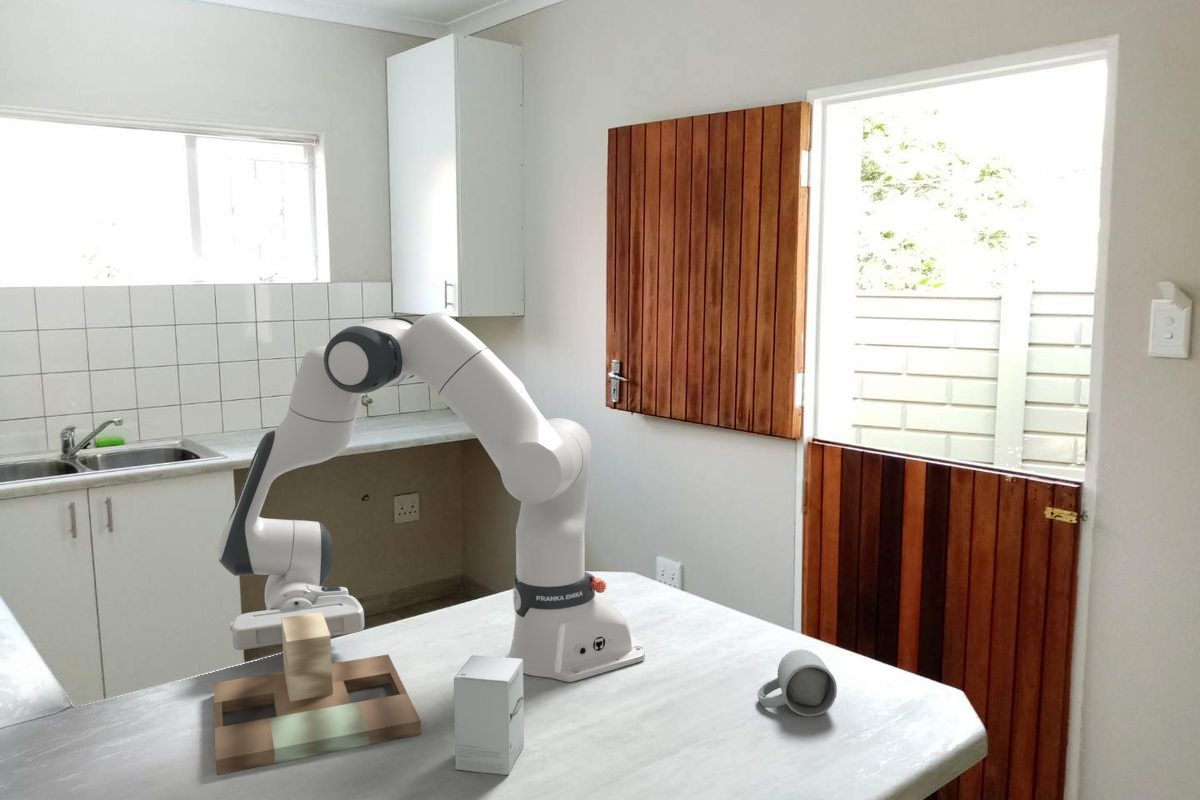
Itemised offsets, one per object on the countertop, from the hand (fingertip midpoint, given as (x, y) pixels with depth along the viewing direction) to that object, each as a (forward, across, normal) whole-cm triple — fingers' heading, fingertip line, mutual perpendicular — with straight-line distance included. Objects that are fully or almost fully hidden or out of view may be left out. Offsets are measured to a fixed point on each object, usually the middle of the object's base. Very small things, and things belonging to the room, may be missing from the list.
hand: (303, 641), depth 143 cm
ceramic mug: (+37, +65, +7) cm, 75 cm away
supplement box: (+34, +20, +7) cm, 40 cm away
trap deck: (+12, 0, +6) cm, 13 cm away
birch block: (+6, 0, +4) cm, 7 cm away
